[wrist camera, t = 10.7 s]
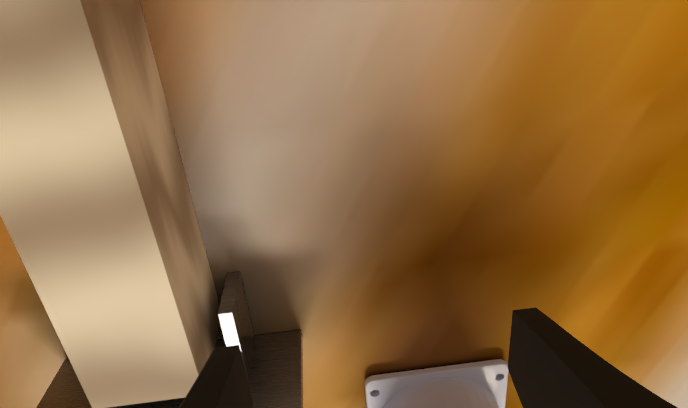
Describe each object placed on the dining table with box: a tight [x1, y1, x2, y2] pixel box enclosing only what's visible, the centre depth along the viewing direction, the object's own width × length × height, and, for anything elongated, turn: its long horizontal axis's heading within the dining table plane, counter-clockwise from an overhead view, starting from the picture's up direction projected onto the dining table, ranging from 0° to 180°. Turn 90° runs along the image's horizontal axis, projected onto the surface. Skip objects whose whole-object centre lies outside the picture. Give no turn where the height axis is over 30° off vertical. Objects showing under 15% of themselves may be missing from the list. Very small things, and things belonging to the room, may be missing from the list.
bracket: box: [37, 272, 303, 408], centre depth 21 cm, size 5×12×5 cm, turn 95°
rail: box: [0, 0, 220, 408], centre depth 18 cm, size 16×4×5 cm, turn 5°
